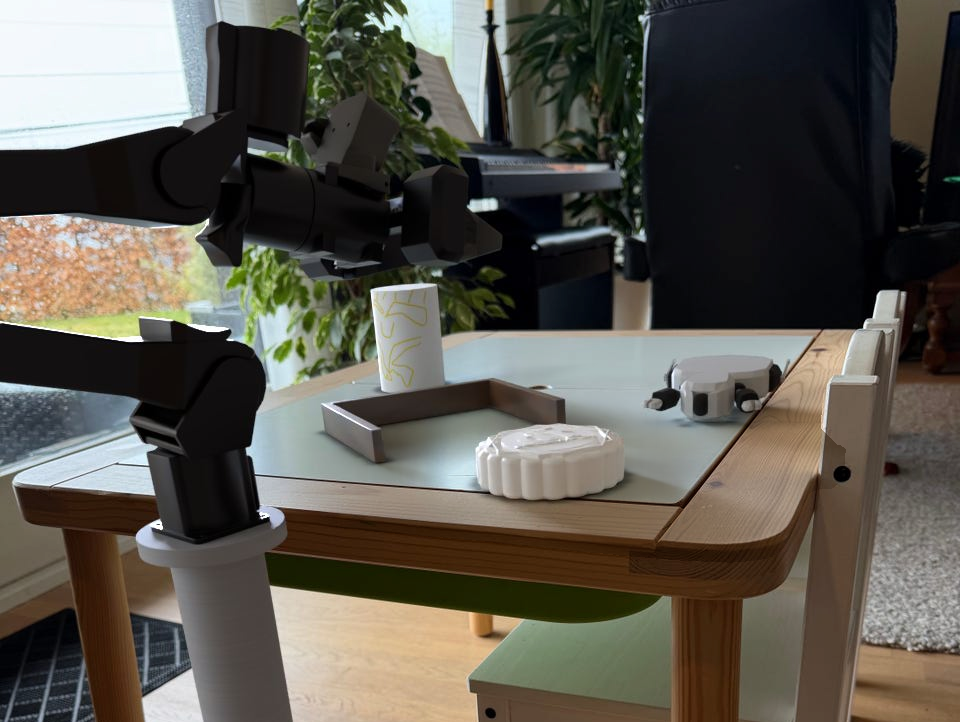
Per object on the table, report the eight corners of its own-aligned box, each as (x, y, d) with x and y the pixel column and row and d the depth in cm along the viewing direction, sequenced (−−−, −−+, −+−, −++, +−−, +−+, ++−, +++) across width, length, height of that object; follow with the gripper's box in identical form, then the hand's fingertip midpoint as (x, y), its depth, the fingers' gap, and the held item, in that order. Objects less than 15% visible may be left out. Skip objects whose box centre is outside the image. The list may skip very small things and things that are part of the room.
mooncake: (589, 454, 87) (588, 413, 86) (650, 486, 77) (650, 441, 75) (460, 473, 84) (456, 432, 83) (505, 510, 74) (502, 463, 72)
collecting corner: (566, 429, 97) (565, 398, 96) (375, 463, 90) (371, 430, 89) (495, 404, 111) (493, 377, 109) (324, 432, 104) (320, 403, 102)
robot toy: (764, 438, 91) (790, 394, 103) (765, 390, 89) (792, 350, 101) (636, 434, 96) (674, 392, 108) (634, 388, 94) (674, 351, 106)
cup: (370, 393, 123) (358, 292, 118) (399, 380, 130) (389, 284, 125) (429, 393, 120) (419, 289, 115) (455, 380, 127) (447, 282, 122)
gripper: (373, 53, 61) (551, 118, 71) (236, 113, 75) (401, 160, 85) (365, 241, 64) (539, 279, 74) (234, 266, 77) (395, 295, 87)
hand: (463, 248), depth 80 cm, fingers open, 9 cm apart
